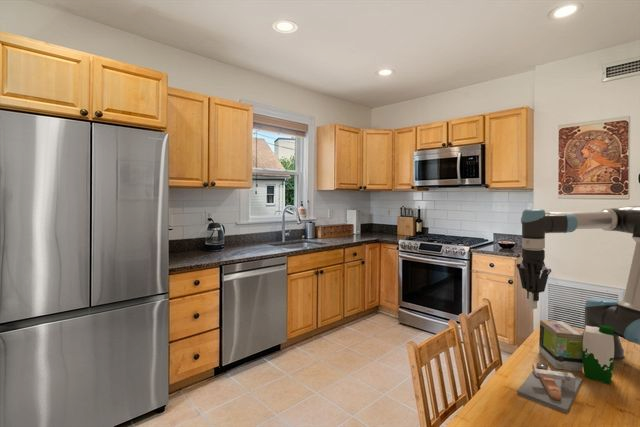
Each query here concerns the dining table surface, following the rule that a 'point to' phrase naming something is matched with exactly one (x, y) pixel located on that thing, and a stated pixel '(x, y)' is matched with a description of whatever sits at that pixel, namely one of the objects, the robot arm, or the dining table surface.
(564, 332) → the tea box
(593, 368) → the milk carton
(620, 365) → the dining table surface
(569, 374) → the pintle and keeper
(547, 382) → the link
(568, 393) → the board
